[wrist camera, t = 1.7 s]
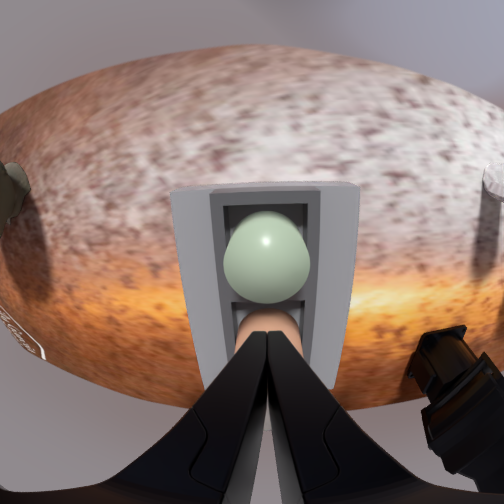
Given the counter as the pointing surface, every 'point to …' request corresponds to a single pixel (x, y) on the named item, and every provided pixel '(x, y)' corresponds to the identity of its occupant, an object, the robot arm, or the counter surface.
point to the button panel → (298, 306)
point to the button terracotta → (269, 326)
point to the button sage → (266, 258)
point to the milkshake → (494, 181)
